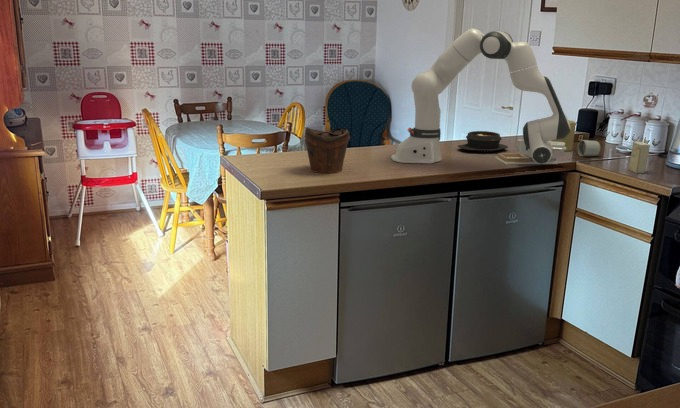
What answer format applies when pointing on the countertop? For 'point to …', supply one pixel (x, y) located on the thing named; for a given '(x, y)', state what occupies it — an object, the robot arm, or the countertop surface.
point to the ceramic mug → (588, 148)
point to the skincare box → (639, 157)
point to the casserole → (483, 142)
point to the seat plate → (519, 159)
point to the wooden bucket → (326, 149)
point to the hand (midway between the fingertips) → (540, 142)
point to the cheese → (568, 137)
